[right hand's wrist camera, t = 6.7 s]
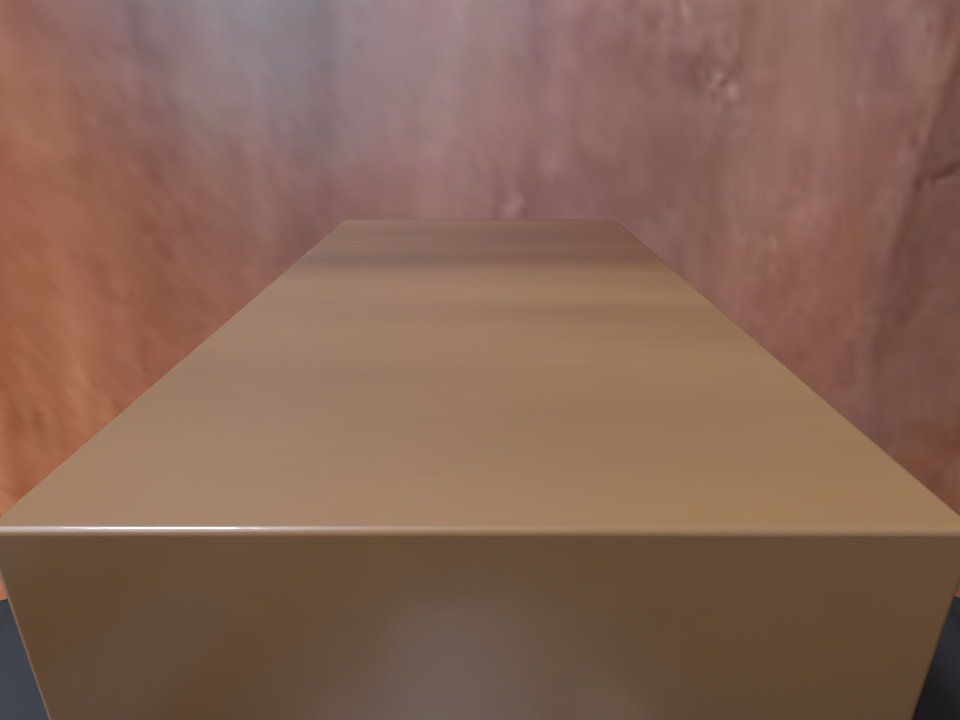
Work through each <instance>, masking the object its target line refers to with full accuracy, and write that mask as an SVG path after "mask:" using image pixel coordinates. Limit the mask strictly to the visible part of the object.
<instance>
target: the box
mask: <svg viewBox="0 0 960 720" xmlns="http://www.w3.org/2000/svg"><path fill="white" fill-rule="evenodd" d="M0 578H1V581H2V584H3V587H4V590H5V593H6V595H7V598H8V601H9V604H10V607H11V610H12V613H13V616H14V619H15V622H16V625H17V628H18V631H19V633H20V636H21V639H22V642H23V645H24V648H25V651H26V654H27V657H28V660H29V663H30V666H31V669H32V671H33V674H34V677H35V680H36V683H37V686H38V689H39V692H40V695H41V698H42V701H43V704H44V707H45V709H46V712H47V715H48V718H49V720H912V719H913V716H914V713H915V710H916V707H917V704H918V701H919V698H920V695H921V692H922V689H923V687H924V684H925V681H926V678H927V675H928V672H929V669H930V666H931V663H932V660H933V657H934V654H935V652H936V649H937V646H938V643H939V640H940V637H941V634H942V631H943V628H944V625H945V622H946V620H947V617H948V614H949V611H950V608H951V605H952V602H953V599H954V596H955V593H956V590H957V587H958V585H959V582H960V515H959V514H957V513H956V512H955V511H954V510H953V509H952V508H950V507H949V506H948V505H947V504H946V503H945V502H943V501H942V500H941V499H940V498H939V497H938V496H936V495H935V494H934V493H933V492H932V491H931V490H929V489H928V488H927V487H926V486H925V485H924V484H922V483H921V482H920V481H919V480H918V479H917V478H915V477H914V476H913V475H912V474H911V473H910V472H908V471H907V470H906V469H905V468H904V467H903V466H902V465H900V464H899V463H898V462H897V461H896V460H895V459H893V458H892V457H891V456H890V455H889V454H888V453H886V452H885V451H884V450H883V449H882V448H881V447H879V446H878V445H877V444H876V443H875V442H874V441H872V440H871V439H870V438H869V437H868V436H867V435H865V434H864V433H863V432H862V431H861V430H860V429H858V428H857V427H856V426H855V425H854V424H853V423H851V422H850V421H849V420H848V419H847V418H846V417H844V416H843V415H842V414H841V413H840V412H839V411H837V410H836V409H835V408H834V407H833V406H832V405H830V404H829V403H828V402H827V401H826V400H825V399H823V398H822V397H821V396H820V395H819V394H818V393H816V392H815V391H814V390H813V389H812V388H811V387H809V386H808V385H807V384H806V383H805V382H804V381H802V380H801V379H800V378H799V377H798V376H797V375H795V374H794V373H793V372H792V371H791V370H790V369H788V368H787V367H786V366H785V365H784V364H783V363H781V362H780V361H779V360H778V359H777V358H776V357H774V356H773V355H772V354H771V353H770V352H769V351H767V350H766V349H765V348H764V347H763V346H762V345H760V344H759V343H758V342H757V341H756V340H755V339H753V338H752V337H751V336H750V335H749V334H748V333H746V332H745V331H744V330H743V329H742V328H741V327H739V326H738V325H737V324H736V323H735V322H734V321H732V320H731V319H730V318H729V317H728V316H727V315H725V314H724V313H723V312H722V311H721V310H720V309H718V308H717V307H716V306H715V305H714V304H713V303H711V302H710V301H709V300H708V299H707V298H706V297H704V296H703V295H702V294H701V293H700V292H699V291H697V290H696V289H695V288H694V287H693V286H692V285H690V284H689V283H688V282H687V281H686V280H685V279H683V278H682V277H681V276H680V275H679V274H678V273H676V272H675V271H674V270H673V269H672V268H671V267H669V266H668V265H667V264H666V263H665V262H664V261H662V260H661V259H660V258H659V257H658V256H657V255H656V254H654V253H653V252H652V251H651V250H650V249H649V248H647V247H646V246H645V245H644V244H643V243H642V242H640V241H639V240H638V239H637V238H636V237H635V236H633V235H632V234H631V233H630V232H629V231H628V230H626V229H625V228H624V227H623V226H622V225H621V224H619V223H618V222H617V221H616V220H344V221H343V222H342V223H341V224H340V225H339V226H337V227H336V228H335V229H334V230H333V231H332V232H330V233H329V234H328V235H327V236H326V237H325V238H323V239H322V240H321V241H320V242H319V243H318V244H317V245H315V246H314V247H313V248H312V249H311V250H310V251H308V252H307V253H306V254H305V255H304V256H303V257H301V258H300V259H299V260H298V261H297V262H296V263H294V264H293V265H292V266H291V267H290V268H289V269H287V270H286V271H285V272H284V273H283V274H282V275H280V276H279V277H278V278H277V279H276V280H275V281H274V282H272V283H271V284H270V285H269V286H268V287H267V288H265V289H264V290H263V291H262V292H261V293H260V294H258V295H257V296H256V297H255V298H254V299H253V300H251V301H250V302H249V303H248V304H247V305H246V306H244V307H243V308H242V309H241V310H240V311H239V312H237V313H236V314H235V315H234V316H233V317H232V318H230V319H229V320H228V321H227V322H226V323H225V324H224V325H222V326H221V327H220V328H219V329H218V330H217V331H215V332H214V333H213V334H212V335H211V336H210V337H208V338H207V339H206V340H205V341H204V342H203V343H201V344H200V345H199V346H198V347H197V348H196V349H194V350H193V351H192V352H191V353H190V354H189V355H187V356H186V357H185V358H184V359H183V360H182V361H181V362H179V363H178V364H177V365H176V366H175V367H174V368H172V369H171V370H170V371H169V372H168V373H167V374H165V375H164V376H163V377H162V378H161V379H160V380H158V381H157V382H156V383H155V384H154V385H153V386H151V387H150V388H149V389H148V390H147V391H146V392H144V393H143V394H142V395H141V396H140V397H139V398H137V399H136V400H135V401H134V402H133V403H132V404H131V405H129V406H128V407H127V408H126V409H125V410H124V411H122V412H121V413H120V414H119V415H118V416H117V417H115V418H114V419H113V420H112V421H111V422H110V423H108V424H107V425H106V426H105V427H104V428H103V429H101V430H100V431H99V432H98V433H97V434H96V435H94V436H93V437H92V438H91V439H90V440H89V441H88V442H86V443H85V444H84V445H83V446H82V447H81V448H79V449H78V450H77V451H76V452H75V453H74V454H72V455H71V456H70V457H69V458H68V459H67V460H65V461H64V462H63V463H62V464H61V465H60V466H58V467H57V468H56V469H55V470H54V471H53V472H51V473H50V474H49V475H48V476H47V477H46V478H44V479H43V480H42V481H41V482H40V483H39V484H38V485H36V486H35V487H34V488H33V489H32V490H31V491H29V492H28V493H27V494H26V495H25V496H24V497H22V498H21V499H20V500H19V501H18V502H17V503H15V504H14V505H13V506H12V507H11V508H10V509H8V510H7V511H6V512H5V513H4V514H3V515H1V516H0Z"/></svg>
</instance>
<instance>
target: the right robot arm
mask: <svg viewBox="0 0 960 720" xmlns="http://www.w3.org/2000/svg"><path fill="white" fill-rule="evenodd" d="M0 720H49V718H48V715H47V712H46V709H45V707H44V704H43V701H42V698H41V695H40V692H39V689H38V686H37V683H36V680H35V677H34V674H33V671H32V669H31V666H30V663H29V660H28V657H27V654H26V651H25V648H24V645H23V642H22V639H21V636H20V633H19V631H18V628H17V625H16V622H15V619H14V616H13V613H12V610H11V607H10V604H9V601H8V599H5V600H1V601H0ZM912 720H960V598H959V597H955V596H954V599H953V602H952V605H951V608H950V611H949V614H948V617H947V620H946V622H945V625H944V628H943V631H942V634H941V637H940V640H939V643H938V646H937V649H936V652H935V654H934V657H933V660H932V663H931V666H930V669H929V672H928V675H927V678H926V681H925V684H924V687H923V689H922V692H921V695H920V698H919V701H918V704H917V707H916V710H915V713H914V716H913V719H912Z"/></svg>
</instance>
